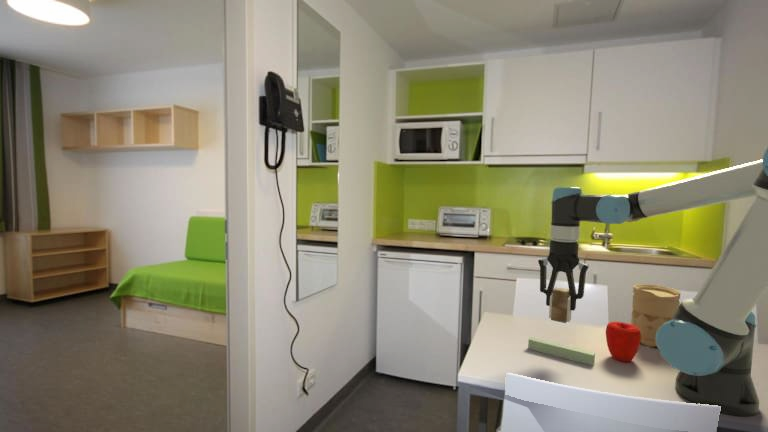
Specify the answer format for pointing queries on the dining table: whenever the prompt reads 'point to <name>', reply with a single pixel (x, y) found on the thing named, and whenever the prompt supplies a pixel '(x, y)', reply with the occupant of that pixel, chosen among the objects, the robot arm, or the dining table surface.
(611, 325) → the apple
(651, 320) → the container
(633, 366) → the dining table surface
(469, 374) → the dining table surface
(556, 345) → the rail
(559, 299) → the walnut block
